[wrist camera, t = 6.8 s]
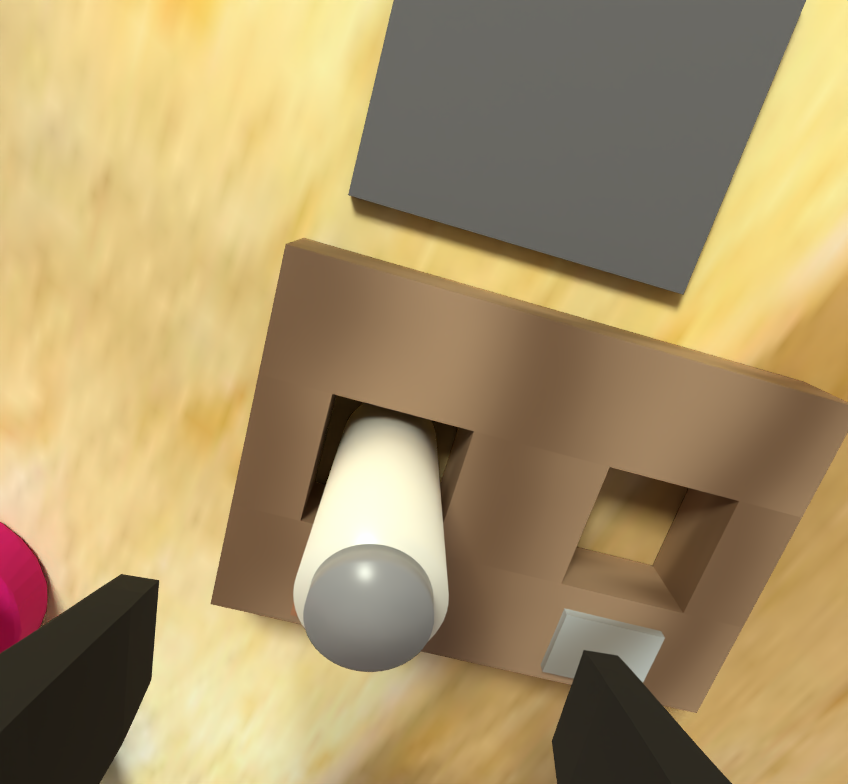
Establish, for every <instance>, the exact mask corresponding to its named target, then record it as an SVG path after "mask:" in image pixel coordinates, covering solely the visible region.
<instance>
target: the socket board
mask: <svg viewBox="0 0 848 784" xmlns="http://www.w3.org/2000/svg"><path fill="white" fill-rule="evenodd" d="M336 395H338V396H342V397H346V398H350V399H354V400H357V401H361V402H365V403H369V404H373V405H376V406H380V407H384V408H388V409H392V410H395V411H399V412H403V413H407V414H411V415H414V416H418V417H422V418H426V419H430V420H433V421H437V422H441V423H445V424H448V425H452V426H456V427H459V428H458V431H457V434H456V437H455V440H454V443H453V446H452V449H451V452H450V455H449V459H448V462H447V465H446V468H445V471H444V474H443V477H442V480H441V483H440V491H441V504H442V516H443V529H444V541H445V554H446V566H447V579H448V592H449V601H448V608H447V613H446V615H445V618H444V621H443V622H442V624H441V626H440V628H439V629H438V631H437V632H436V633H435V635H434V636H433V637H432V638H431V639H430V640H429V641H428V642H427V644H426V645H425V646H424V648H423V649H422V650H421V651H422V652H427V653H431V654H436V655H440V656H445V657H449V658H454V659H458V660H463V661H467V662H471V663H476V664H480V665H485V666H489V667H494V668H498V669H503V670H507V671H512V672H516V673H520V674H525V675H529V676H534V677H538V678H543V679H547V680H552V681H556V682H561V683H565V684H569V685H572V682H573V679H574V676H575V674H576V671H577V668H578V665H579V662H580V659H581V656H582V654H583V651H584V650H588V651H594V652H600V653H606V654H612V655H618V656H619V657H620V658H621V659H622V660H623V661H624V662H625V663H626V665H627V666H628V667H629V668H630V669H631V670H632V671H633V672H634V673H635V675H636V676H637V677H638V678H639V679H640V680H641V681H642V683H643V684H644V685H645V686H646V687H647V688H648V689H649V691H650V692H651V693H652V694H653V695H654V696H655V698H656V699H657V700H658V701H659V702H660V703H661V704H662V705H663V706H667V707H672V708H676V709H681V710H685V711H690V712H694V713H697V711H698V710H699V708H700V706H701V704H702V702H703V700H704V698H705V696H706V695H707V693H708V691H709V689H710V687H711V685H712V683H713V682H714V680H715V678H716V676H717V674H718V672H719V670H720V669H721V667H722V665H723V663H724V661H725V659H726V657H727V656H728V654H729V652H730V650H731V648H732V646H733V644H734V643H735V641H736V639H737V637H738V635H739V633H740V631H741V630H742V628H743V626H744V624H745V622H746V620H747V618H748V617H749V615H750V613H751V611H752V609H753V607H754V605H755V604H756V602H757V600H758V598H759V596H760V594H761V592H762V591H763V589H764V587H765V585H766V583H767V581H768V579H769V578H770V576H771V574H772V572H773V570H774V568H775V566H776V565H777V563H778V561H779V559H780V557H781V555H782V553H783V552H784V550H785V548H786V546H787V544H788V542H789V540H790V539H791V537H792V535H793V533H794V531H795V529H796V527H797V526H798V524H799V522H800V520H801V518H802V516H803V514H804V513H805V511H806V509H807V507H808V505H809V503H810V501H811V500H812V498H813V496H814V494H815V492H816V490H817V488H818V487H819V485H820V483H821V481H822V479H823V477H824V475H825V474H826V472H827V470H828V468H829V466H830V464H831V462H832V461H833V459H834V457H835V455H836V453H837V451H838V449H839V448H840V446H841V444H842V442H843V440H844V438H845V436H846V435H847V433H848V402H846V401H844V400H842V399H840V398H837V397H835V396H833V395H831V394H829V393H827V392H825V391H822V390H820V389H818V388H816V387H814V386H812V385H810V384H808V383H805V382H803V381H799V380H796V379H792V378H789V377H785V376H782V375H779V374H775V373H772V372H768V371H765V370H761V369H758V368H754V367H751V366H747V365H744V364H740V363H737V362H733V361H730V360H726V359H723V358H719V357H716V356H713V355H709V354H706V353H702V352H699V351H695V350H692V349H688V348H685V347H681V346H678V345H674V344H671V343H667V342H664V341H660V340H657V339H653V338H650V337H646V336H643V335H640V334H636V333H633V332H629V331H626V330H622V329H619V328H615V327H612V326H608V325H605V324H601V323H598V322H594V321H591V320H587V319H584V318H580V317H577V316H573V315H570V314H567V313H563V312H560V311H556V310H553V309H549V308H546V307H542V306H539V305H535V304H532V303H528V302H525V301H521V300H518V299H514V298H511V297H507V296H504V295H500V294H497V293H494V292H490V291H487V290H483V289H480V288H476V287H473V286H469V285H466V284H462V283H459V282H455V281H452V280H448V279H445V278H441V277H438V276H434V275H431V274H428V273H424V272H421V271H417V270H414V269H410V268H407V267H403V266H400V265H396V264H393V263H389V262H386V261H382V260H379V259H375V258H372V257H368V256H365V255H361V254H358V253H355V252H351V251H348V250H344V249H341V248H337V247H334V246H330V245H327V244H323V243H320V242H316V241H313V240H309V239H306V238H302V239H299V240H296V241H293V242H290V243H287V244H286V246H285V250H284V255H283V260H282V265H281V270H280V274H279V279H278V284H277V289H276V294H275V298H274V303H273V308H272V313H271V317H270V322H269V327H268V332H267V337H266V341H265V346H264V351H263V356H262V361H261V365H260V370H259V375H258V380H257V385H256V389H255V394H254V399H253V404H252V408H251V413H250V418H249V423H248V428H247V432H246V437H245V442H244V447H243V452H242V456H241V461H240V466H239V471H238V476H237V480H236V485H235V490H234V495H233V499H232V504H231V509H230V514H229V519H228V523H227V528H226V533H225V538H224V543H223V547H222V552H221V557H220V562H219V567H218V571H217V576H216V581H215V586H214V590H213V595H212V600H211V604H213V605H218V606H222V607H226V608H231V609H235V610H240V611H244V612H249V613H253V614H258V615H262V616H267V617H271V618H275V619H280V620H284V621H289V622H293V623H298V624H301V622H300V620H299V618H298V615H297V613H296V610H295V605H294V597H293V591H294V583H295V579H296V576H297V572H298V569H299V566H300V563H301V560H302V557H303V554H304V551H305V548H306V545H307V542H308V539H309V536H310V533H311V530H312V526H313V523H314V520H315V517H316V514H317V511H318V508H319V505H320V502H321V499H322V496H323V493H324V490H325V487H326V485H325V484H321V483H317V482H315V478H316V474H317V470H318V466H319V462H320V458H321V454H322V450H323V446H324V442H325V438H326V434H327V430H328V426H329V422H330V419H331V415H332V411H333V407H334V403H335V399H336ZM609 467H612V468H615V469H619V470H623V471H627V472H631V473H634V474H638V475H642V476H646V477H650V478H653V479H657V480H661V481H665V482H669V483H672V484H676V485H680V486H684V487H688V488H689V489H688V491H687V493H686V495H685V497H684V499H683V502H682V504H681V506H680V508H679V510H678V512H677V514H676V517H675V519H674V521H673V523H672V525H671V527H670V530H669V532H668V534H667V536H666V538H665V540H664V542H663V545H662V547H661V549H660V551H659V553H658V555H657V557H656V560H655V562H654V564H653V566H652V565H648V564H644V563H640V562H636V561H632V560H628V559H624V558H619V557H615V556H611V555H607V554H603V553H599V552H595V551H591V550H587V549H583V548H579V547H577V544H578V542H579V540H580V537H581V535H582V532H583V530H584V528H585V525H586V523H587V520H588V518H589V516H590V513H591V511H592V508H593V506H594V504H595V501H596V499H597V496H598V494H599V492H600V489H601V487H602V484H603V482H604V480H605V477H606V475H607V472H608V470H609Z"/></svg>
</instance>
